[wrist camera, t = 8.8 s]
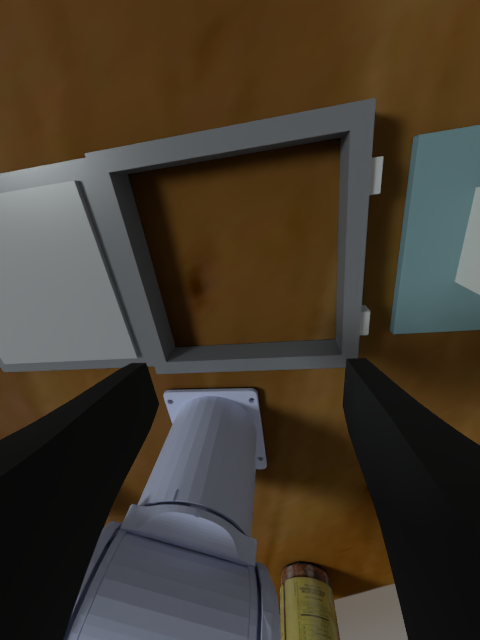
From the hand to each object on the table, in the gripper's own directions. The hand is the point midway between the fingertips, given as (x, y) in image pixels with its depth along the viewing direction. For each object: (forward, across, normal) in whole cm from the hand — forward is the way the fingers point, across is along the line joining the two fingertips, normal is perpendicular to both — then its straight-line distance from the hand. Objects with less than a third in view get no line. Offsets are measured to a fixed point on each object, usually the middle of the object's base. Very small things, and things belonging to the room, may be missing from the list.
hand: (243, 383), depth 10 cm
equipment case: (+9, +8, -2) cm, 12 cm away
